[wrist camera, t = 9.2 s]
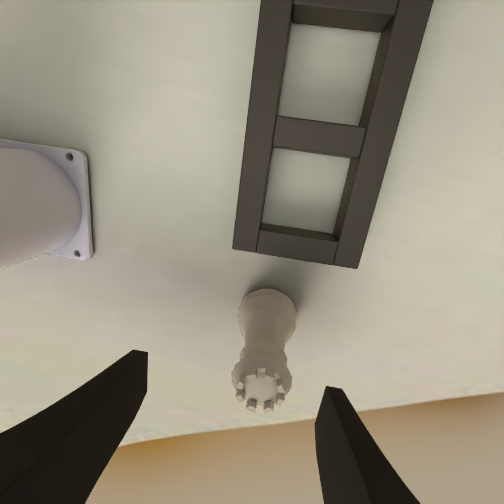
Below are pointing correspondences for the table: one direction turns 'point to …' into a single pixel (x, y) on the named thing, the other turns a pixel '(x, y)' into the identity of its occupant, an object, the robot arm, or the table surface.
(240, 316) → the rook chess piece
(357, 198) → the holder
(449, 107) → the table surface
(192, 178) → the table surface
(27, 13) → the table surface
